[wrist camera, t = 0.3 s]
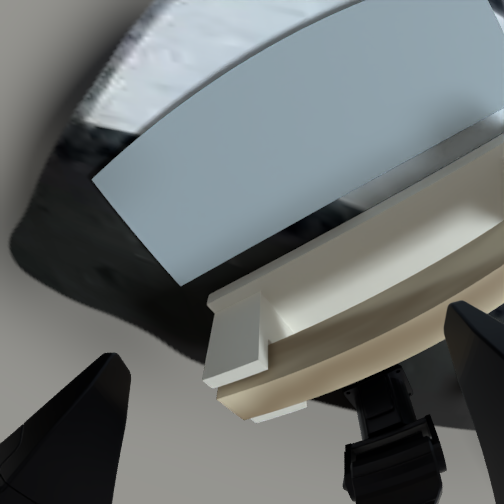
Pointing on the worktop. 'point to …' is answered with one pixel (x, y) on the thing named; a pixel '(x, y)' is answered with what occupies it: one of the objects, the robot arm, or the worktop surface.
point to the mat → (305, 126)
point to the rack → (353, 264)
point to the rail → (373, 331)
